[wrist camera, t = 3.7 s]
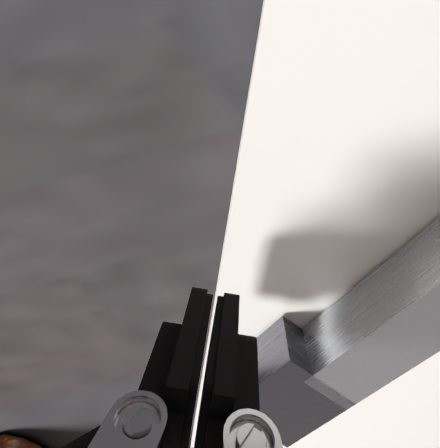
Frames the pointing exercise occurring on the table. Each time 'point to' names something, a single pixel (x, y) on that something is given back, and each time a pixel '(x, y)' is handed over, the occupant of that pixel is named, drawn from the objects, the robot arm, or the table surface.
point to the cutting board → (337, 184)
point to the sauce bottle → (16, 442)
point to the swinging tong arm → (353, 342)
